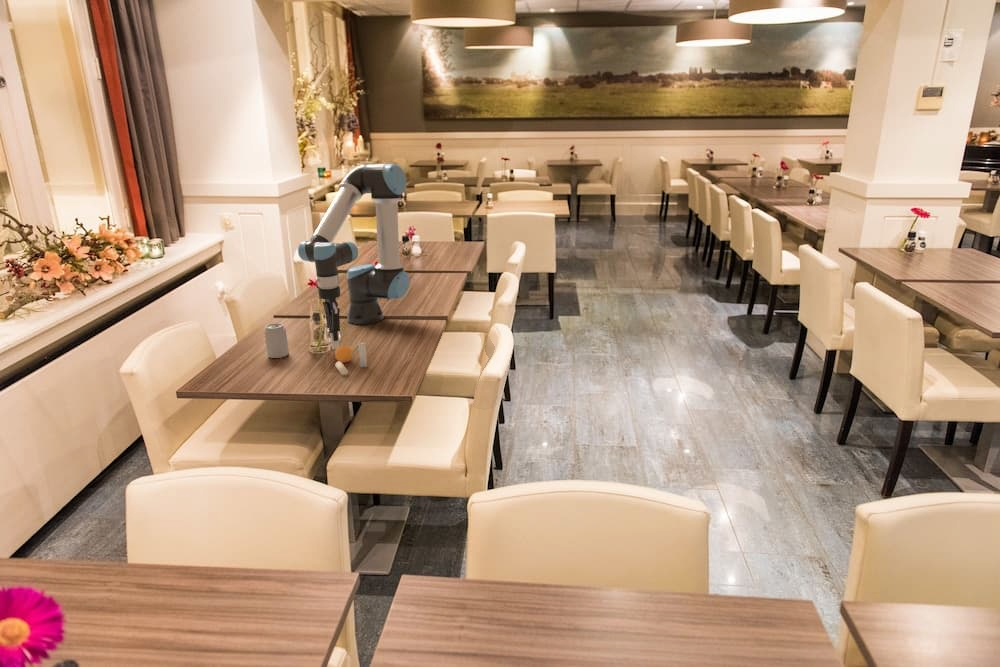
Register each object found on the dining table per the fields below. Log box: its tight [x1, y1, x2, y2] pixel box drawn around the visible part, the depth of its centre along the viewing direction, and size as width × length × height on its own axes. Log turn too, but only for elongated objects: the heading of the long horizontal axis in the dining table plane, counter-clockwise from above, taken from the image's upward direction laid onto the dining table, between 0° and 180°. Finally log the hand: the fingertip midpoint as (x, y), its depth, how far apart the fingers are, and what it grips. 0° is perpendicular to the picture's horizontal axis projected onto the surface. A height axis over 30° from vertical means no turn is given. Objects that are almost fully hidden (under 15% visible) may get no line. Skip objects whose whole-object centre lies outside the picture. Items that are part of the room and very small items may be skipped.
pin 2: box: [357, 341, 368, 368], centre depth 234 cm, size 2×2×8 cm
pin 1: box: [335, 360, 349, 377], centre depth 231 cm, size 2×2×8 cm
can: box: [263, 322, 290, 359], centre depth 246 cm, size 8×8×12 cm
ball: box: [334, 345, 353, 364], centre depth 239 cm, size 6×6×6 cm
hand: (335, 347), depth 248 cm, fingers closed
